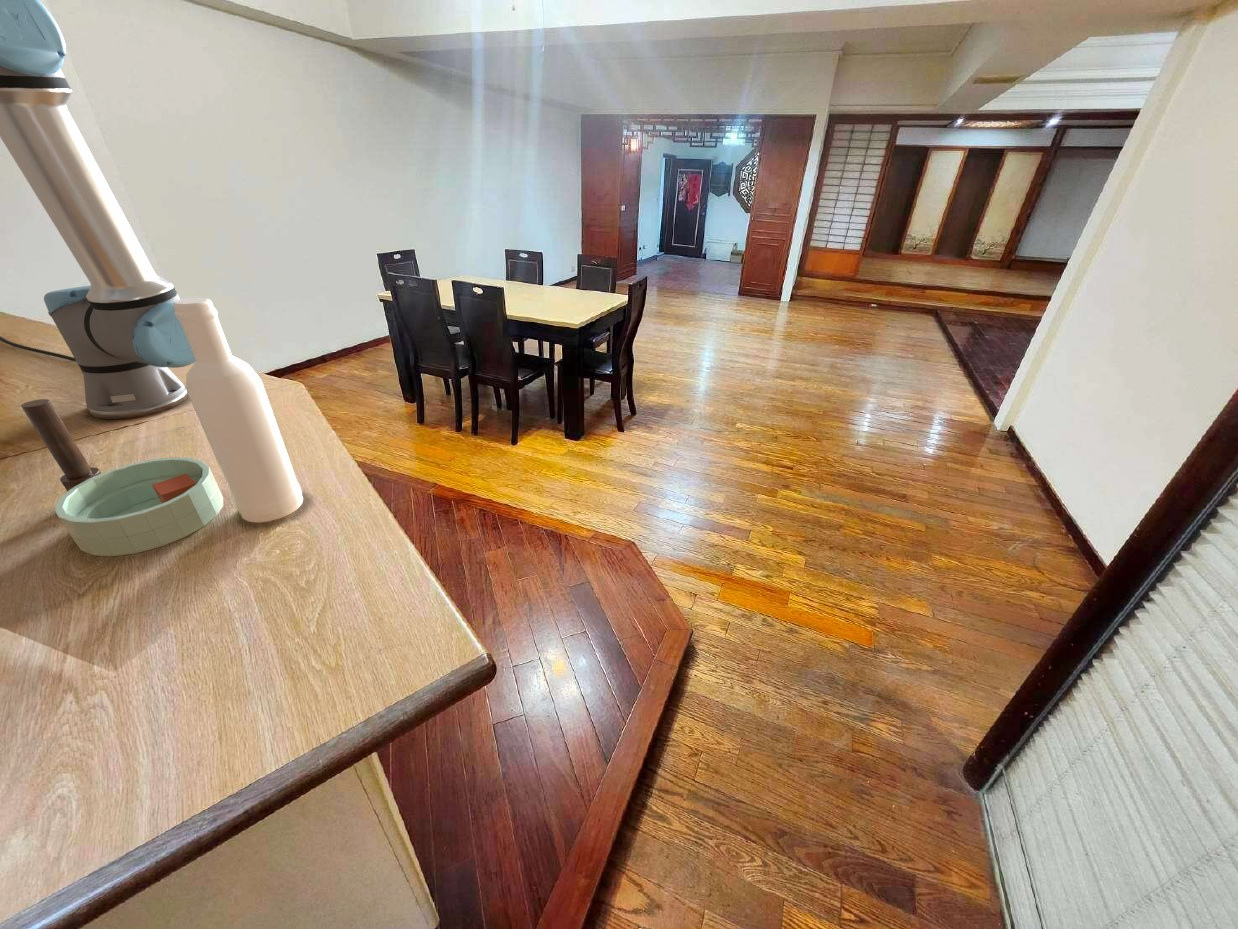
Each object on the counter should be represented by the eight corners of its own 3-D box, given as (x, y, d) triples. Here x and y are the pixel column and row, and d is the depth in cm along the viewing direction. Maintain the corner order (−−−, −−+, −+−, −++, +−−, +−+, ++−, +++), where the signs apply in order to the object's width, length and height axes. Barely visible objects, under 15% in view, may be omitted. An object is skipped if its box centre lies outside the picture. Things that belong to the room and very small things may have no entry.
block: (164, 507, 71) (151, 484, 69) (197, 495, 74) (186, 473, 72) (173, 518, 69) (161, 495, 67) (207, 505, 72) (196, 483, 70)
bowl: (67, 525, 68) (43, 489, 65) (202, 479, 78) (187, 446, 75) (96, 577, 60) (70, 539, 57) (242, 518, 71) (227, 483, 67)
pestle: (76, 503, 72) (11, 402, 64) (112, 492, 75) (54, 394, 66) (81, 514, 70) (14, 412, 62) (118, 502, 72) (59, 402, 64)
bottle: (311, 510, 73) (239, 303, 57) (249, 533, 68) (152, 312, 52) (295, 488, 77) (225, 290, 62) (236, 507, 73) (143, 298, 57)
